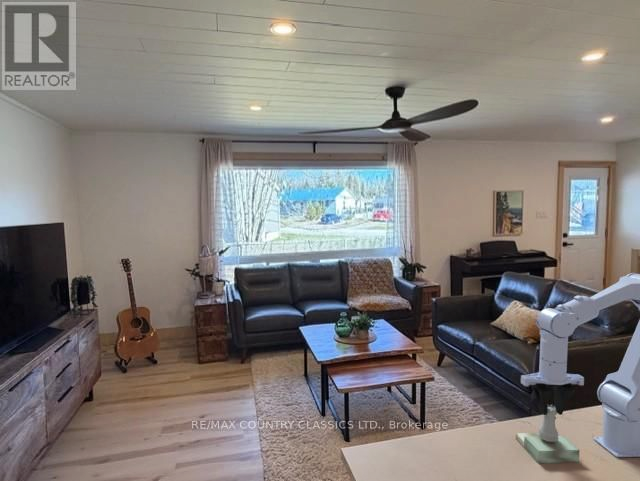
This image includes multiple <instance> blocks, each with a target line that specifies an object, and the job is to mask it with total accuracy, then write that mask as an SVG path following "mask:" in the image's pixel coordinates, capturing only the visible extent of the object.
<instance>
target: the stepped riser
mask: <svg viewBox="0 0 640 481" xmlns="http://www.w3.org/2000/svg"><path fill="white" fill-rule="evenodd" d="M558 438H559V439H558V440H557V441H556V442H547V441H545V440H543V439H541V438H540V436H539V435H538V432H521V433H520V432H518V433H517V432H516V433H515V440H516V441H517V442H518V443H519V445H521V446H522V447H523V449H524V451H526V452H527V453H528V454H529V455H530V456H531V458H533V459H534V460H535V462H536V463H537V464H545V463H546V464H552V463H580V452H581V451H580V449H579V447H577V446H576V445H575V444H573V443H572V442H571V441H570V440H569V439H568V438H567V437H566V436H565V435H558Z"/></svg>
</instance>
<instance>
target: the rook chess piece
mask: <svg viewBox="0 0 640 481" xmlns="http://www.w3.org/2000/svg"><path fill="white" fill-rule="evenodd" d="M556 415H558V412H557V410H556V407H554V404H550V405H549V404H548V411H547V415H543V414H542V416H543V421H542V424H541V425H540V427H538V432H537V433H538V435H539V436H540V438H541V439H543V440H545V441H547V442H556V441H557V440H558V439H559V438H558V436H559V432H558V429H557V428H556V427H557V426H556V420H557V416H556Z"/></svg>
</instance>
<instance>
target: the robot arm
mask: <svg viewBox="0 0 640 481" xmlns="http://www.w3.org/2000/svg"><path fill="white" fill-rule="evenodd" d="M627 300H630V302H632V303H633V304H634V305H635V306H636V307H637V308H638V311H640V273H637V272H630V273H628V274H626V275H624V276H620V278H619V280H618V281H617V282H616V283H614V284H612V285H610V286H608V287H606V288H604V289H603V290H601V291H600V292H597V293H596V294H594V295H592V296H586V295H575V296H574V297H573V299H572V300H570V301H567V302H565V303H562V304H561V303H560V304H558V305H556V307H555V308H552V307H551V308H550V307H547V308H544V309H543V310H541V311H540V312H539V313H538V315H537V318H535V324H536V326H537V327H538V329H539V335H540V339H539V340H540V341H539V342H540V344H539V365H538V366H539V368H538V372H535V373H534V372H533V373H529V374H523V375H520V384H521V385H523V386H524V387H531V389H532V391H533V394H534V395H535V398H536V402H537V406H538V411H539V413H541V414H542V416H543V415H547V411H548V405H549V400H550V396H551V395H552V394H551V393H552V391H551V390H550V389H549V388H548V386H547V385H549V386H551V385H552V388H553V395H554V396H553V397H554V398H553V400H554V402H553V408H554V407H556V410H557V412H558V413H557V415H559V416H563V414H564V411H565V407H566V405H567V403H568V401H569V400H570V398H571V397H572V396H573V395H574V394H575V391H576V388H575V387H573V386H572V385H578V386H584V384H585V377H584V376H582V375H580V374H577V373H576V374H574V373H567V369H568V366H567V365H568V347H569V346H568V345H569V344H568V343H569V337H570V336H572V335H573V333H574V331H575V329H577V328H578V326H580V325H583V324H584V323H587V322H590V321H592V320H593V319H595V318H597V317H598V316H599V314H600V311H601V310H603V309H606V308H609V307H611V306H614V305H617V304H619V303H622V302H625V301H627ZM618 368H619V369H618V370H617V371H616V372H612V373H609V374H607V375H606V377H605V379H604V380H603V382H601V383H600V384H599V386H598V388H597V390H596V395H597V399H598V400H599V401H600V402H601V404H602V405H601V407H602V408H603V422H602V436H594V437H593V440H594V441H595V442H597V443H598V444H599V445H601V446H602V447H603V448H605V449H606V451H608V452H609V453H610V454H611V455H613V456H614V457H616V458H636V457H637V458H639V457H640V319H639V320H638V323H637V325H636V327H635V331H634V332H633V335H632V337H631V340H630V341H629V345H628V346H627V349H626V352H625V353H624V356H623V359H622V361H621V363H620V366H619V367H618Z"/></svg>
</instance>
